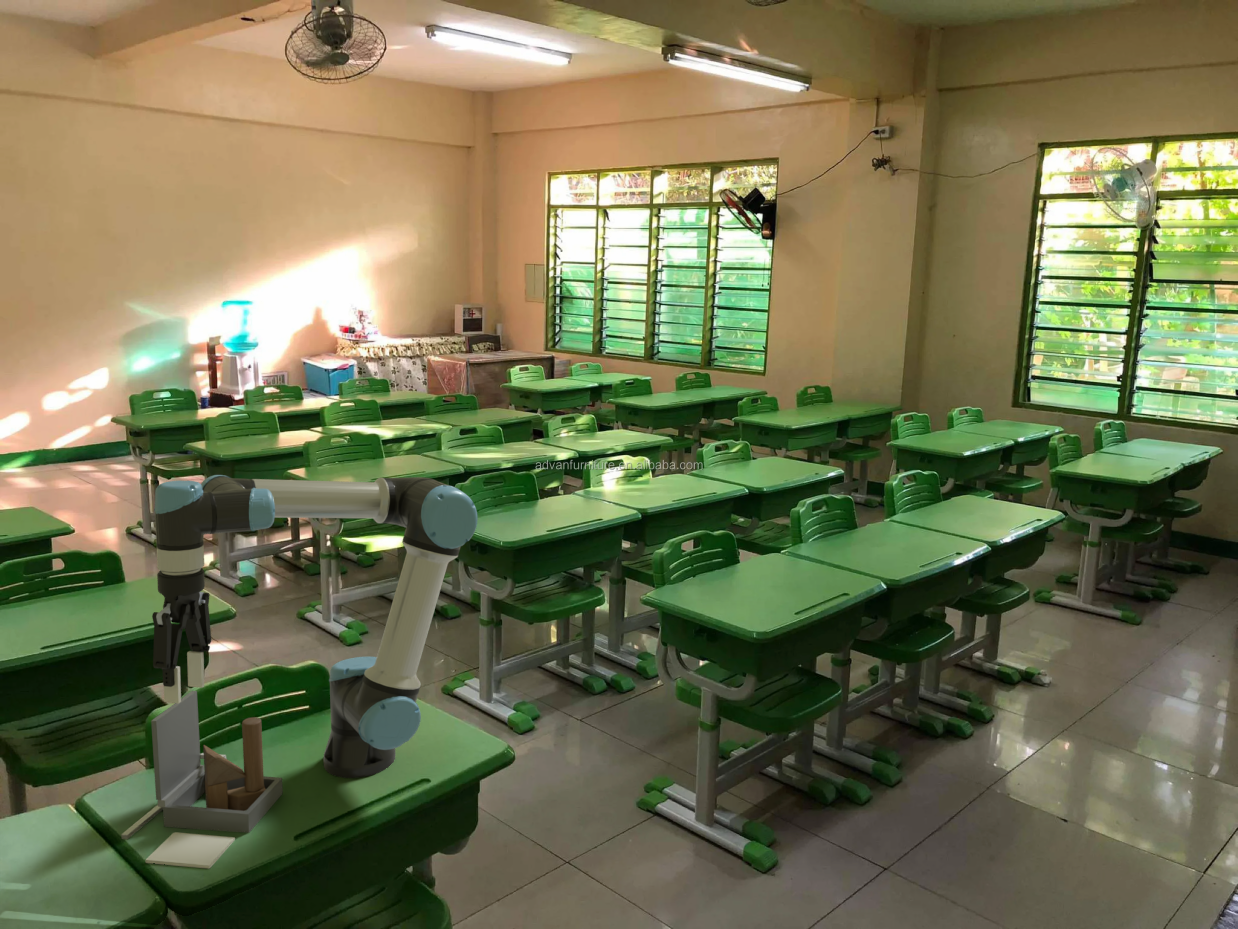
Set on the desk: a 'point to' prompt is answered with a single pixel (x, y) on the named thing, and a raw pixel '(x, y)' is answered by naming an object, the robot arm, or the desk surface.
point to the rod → (141, 822)
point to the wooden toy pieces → (236, 772)
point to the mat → (190, 850)
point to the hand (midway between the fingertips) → (184, 693)
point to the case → (196, 775)
